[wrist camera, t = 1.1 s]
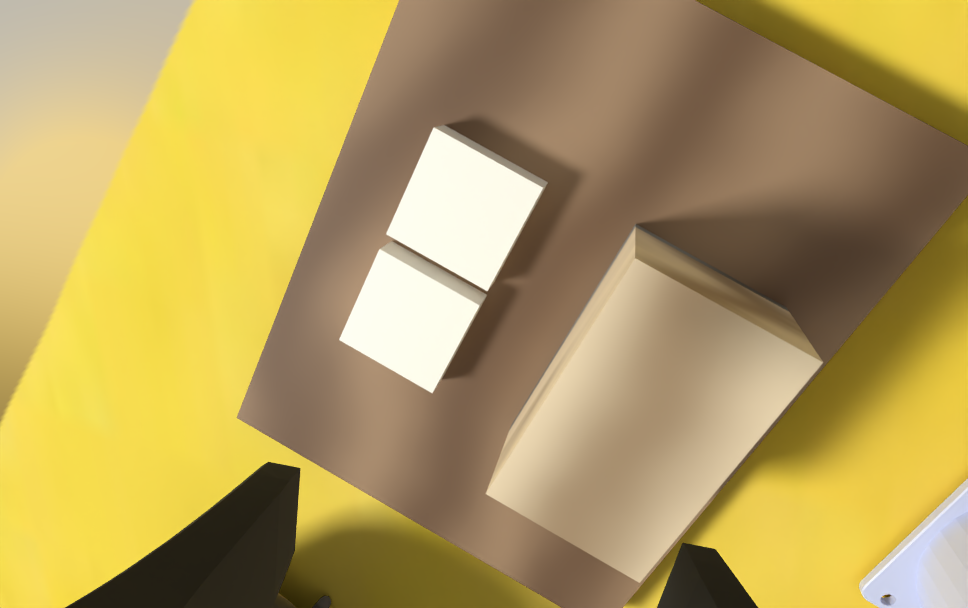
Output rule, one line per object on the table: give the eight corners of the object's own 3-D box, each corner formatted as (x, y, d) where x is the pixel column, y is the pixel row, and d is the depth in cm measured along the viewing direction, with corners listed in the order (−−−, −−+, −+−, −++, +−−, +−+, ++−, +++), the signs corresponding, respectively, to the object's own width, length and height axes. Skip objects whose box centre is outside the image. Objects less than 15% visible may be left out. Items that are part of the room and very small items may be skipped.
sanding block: (786, 307, 21) (822, 362, 17) (639, 497, 24) (639, 582, 20) (635, 223, 21) (635, 258, 17) (511, 424, 24) (485, 493, 20)
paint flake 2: (487, 294, 23) (479, 305, 22) (441, 379, 25) (432, 393, 23) (391, 240, 23) (379, 248, 22) (352, 328, 25) (338, 339, 24)
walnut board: (970, 155, 20) (996, 161, 18) (604, 604, 28) (602, 631, 27) (462, -116, 20) (450, -131, 19) (255, 401, 29) (236, 417, 27)
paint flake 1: (548, 182, 21) (543, 187, 20) (494, 281, 23) (487, 291, 22) (444, 125, 21) (433, 127, 20) (398, 226, 23) (385, 234, 22)
